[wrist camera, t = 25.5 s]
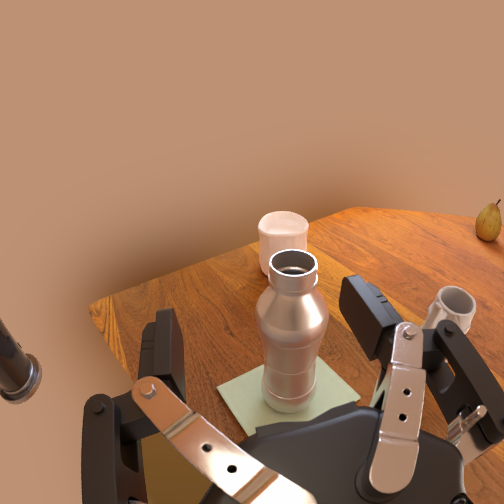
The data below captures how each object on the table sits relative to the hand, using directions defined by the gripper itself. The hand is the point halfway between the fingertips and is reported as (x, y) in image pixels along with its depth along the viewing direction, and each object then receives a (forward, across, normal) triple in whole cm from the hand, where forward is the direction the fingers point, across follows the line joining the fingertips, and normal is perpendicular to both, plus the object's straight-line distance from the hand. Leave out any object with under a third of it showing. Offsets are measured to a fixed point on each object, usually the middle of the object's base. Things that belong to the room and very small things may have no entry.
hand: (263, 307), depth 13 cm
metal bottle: (+7, +4, -23) cm, 25 cm away
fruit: (+30, +72, -24) cm, 82 cm away
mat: (+7, +4, -24) cm, 25 cm away
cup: (+35, +11, -24) cm, 44 cm away
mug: (+6, +26, -24) cm, 35 cm away
